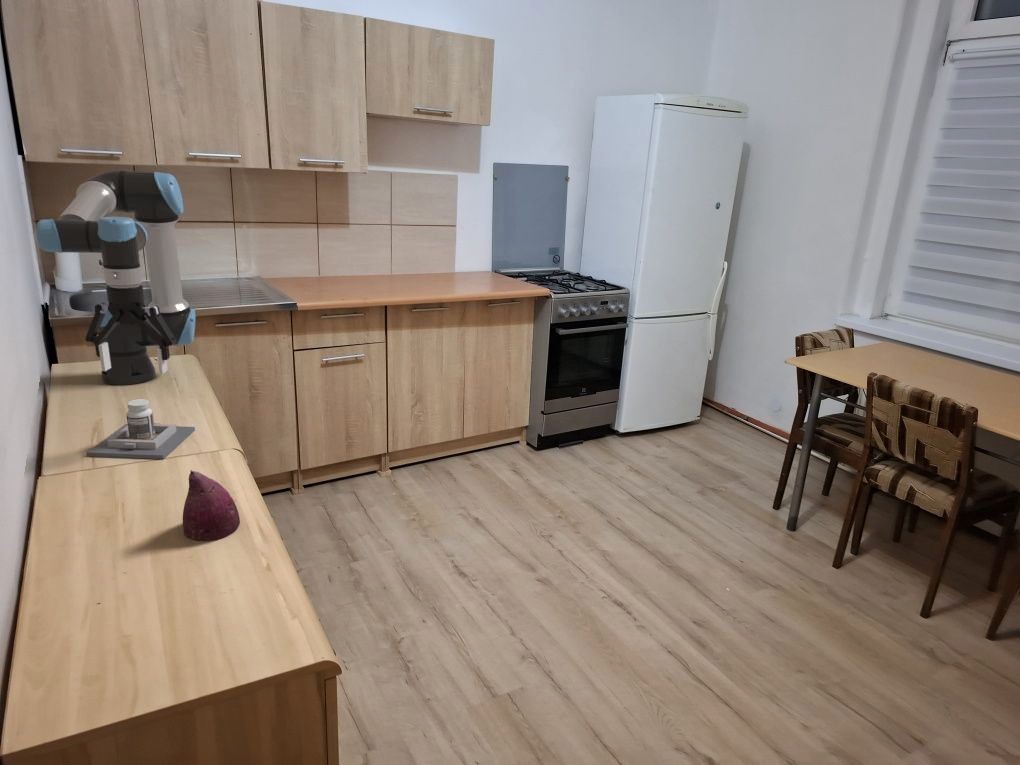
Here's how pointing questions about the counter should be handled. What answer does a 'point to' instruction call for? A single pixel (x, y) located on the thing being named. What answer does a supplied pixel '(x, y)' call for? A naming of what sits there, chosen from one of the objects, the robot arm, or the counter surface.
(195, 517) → the vegetable
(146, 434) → the pill bottle
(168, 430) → the socket
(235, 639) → the counter surface
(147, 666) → the counter surface
